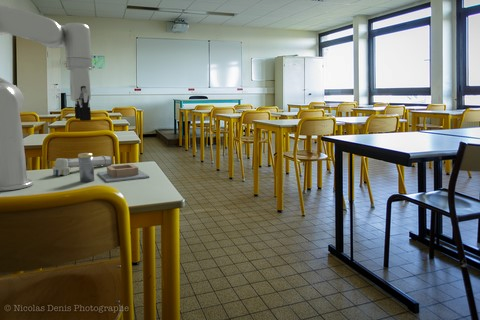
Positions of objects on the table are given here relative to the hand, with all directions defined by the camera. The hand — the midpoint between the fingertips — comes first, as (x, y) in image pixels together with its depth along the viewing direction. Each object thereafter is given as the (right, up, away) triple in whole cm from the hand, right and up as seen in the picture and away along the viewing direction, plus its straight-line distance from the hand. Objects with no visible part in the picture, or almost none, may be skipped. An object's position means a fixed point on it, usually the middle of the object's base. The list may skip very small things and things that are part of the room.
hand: (83, 119), depth 127 cm
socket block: (+10, -18, +11) cm, 23 cm away
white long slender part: (-8, -17, +22) cm, 29 cm away
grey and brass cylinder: (0, -20, +3) cm, 20 cm away
